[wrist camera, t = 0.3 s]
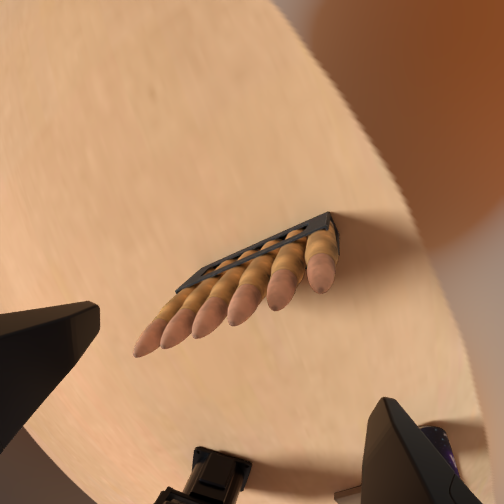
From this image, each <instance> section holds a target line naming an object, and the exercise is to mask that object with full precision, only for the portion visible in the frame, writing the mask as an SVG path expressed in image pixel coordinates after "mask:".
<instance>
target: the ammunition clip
mask: <svg viewBox="0 0 504 504" xmlns="http://www.w3.org/2000/svg"><path fill="white" fill-rule="evenodd" d="M338 255H339V233H338V230H337V228H336V226H335V223H334V221H333V219H332V217H331V214H330V212H325V213H323V214H321V215H319V216H316V217H314V218H312V219H310V220H307V221H305V222H303V223H301V224H298V225H296V226H294V227H292V228H289V229H287V230H285V231H283V232H281V233H278V234H276V235H274V236H272V237H269V238H267V239H265V240H263V241H260V242H258V243H256V244H254V245H251V246H249V247H247V248H245V249H243V250H240V251H238V252H236V253H234V254H231V255H229V256H227V257H225V258H223V259H220V260H218V261H216V262H214V263H211V264H209V265H207V266H205V267H203V268H201V269H200V270H199V271H197V272H196V273H195V274H194V275H193V276H192V277H190V278H189V279H188V280H187V281H186V282H185V283H184V284H182V285H181V286H180V287H179V288H178V289H177V290H176V291H175V292H176V294H177V295H176V296H174V297H173V298H172V299H171V300H170V301H169V302H168V303H167V304H166V305H165V306H164V307H163V308H162V309H161V311H160V313H159V314H158V316H157V317H156V318H155V319H154V320H153V321H152V323H151V324H150V325H149V326H148V327H147V328H146V329H145V330H144V331H143V333H142V334H141V335H140V337H139V338H138V340H137V342H136V344H135V347H134V351H133V356H134V357H142V356H145V355H147V354H149V353H151V352H153V351H154V350H156V349H157V348H158V347H159V346H161V348H162V349H168V348H171V347H173V346H175V345H177V344H179V343H180V342H182V341H183V340H184V339H185V338H187V337H188V336H189V335H190V334H191V333H192V336H193V338H195V339H198V338H202V337H205V336H206V335H208V334H210V333H211V332H212V331H214V330H215V329H216V328H217V327H218V326H219V325H220V324H221V323H222V322H223V320H224V319H225V318H226V317H227V319H228V322H229V325H230V326H237V325H240V324H242V323H243V322H245V321H246V320H247V319H248V318H249V317H250V316H251V315H252V314H253V313H254V312H255V310H256V308H257V307H258V305H259V304H260V303H261V301H262V299H263V298H264V297H265V296H267V301H268V305H269V307H270V308H271V310H273V311H279V310H281V309H283V308H284V307H285V306H286V305H287V304H288V303H289V302H290V301H291V299H292V297H293V295H294V293H295V291H296V288H297V286H298V284H299V283H300V282H301V280H302V278H303V276H304V272H305V269H307V277H308V281H309V284H310V286H311V287H312V289H313V290H314V291H315V292H316V293H319V294H323V293H325V292H327V291H328V290H329V288H330V287H331V285H332V283H333V281H334V278H335V269H336V264H337V262H338Z"/></svg>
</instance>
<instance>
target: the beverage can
mask: <svg viewBox="0 0 504 504" xmlns="http://www.w3.org/2000/svg"><path fill="white" fill-rule="evenodd" d="M419 429H420V430H421V431H422V432H423V433H424V435H425V436H426V437H427V438H428V440H429V441H430V442H431V443H432V444H433V446H434V447H435V448H436V449H437V451H438V452H439V453H440V454H441V455H442V457H443V458H444V459H445V460H446V462H447V463H448V464H449V465H450V467H451V468H452V469H453V470H454V472H455V473H454V474H457V475H458V476H459V473H458V469H457V466H456V463H455V459H454V456H453V453H452V450H451V446H450V443H449V440H448V437H447V434H446V432H445V431H444V430H443V429H441V428H439V427H432V426H421V427H419ZM459 478H460V476H459Z"/></svg>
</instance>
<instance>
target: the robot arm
mask: <svg viewBox="0 0 504 504" xmlns="http://www.w3.org/2000/svg"><path fill="white" fill-rule="evenodd" d="M99 330H100V308H99V306H98V305H97V304H95V303H93V302H90V301H84V302H78V303H71V304H65V305H59V306H52V307H46V308H39V309H32V310H26V311H19V312H12V313H5V314H0V454H1V453H2V452H3V450H4V449H5V447H6V446H7V445H8V444H9V443H10V441H11V440H12V439H13V438H14V436H15V435H16V434H17V433H18V431H19V430H20V429H21V428H22V427H23V425H24V424H25V423H26V422H27V421H28V419H29V418H30V417H31V416H32V415H33V413H34V412H35V411H36V410H37V409H38V407H39V406H40V405H41V404H42V403H43V402H44V400H45V399H46V398H47V397H48V396H49V395H50V393H51V392H52V391H53V390H54V389H55V388H56V387H57V385H58V384H59V383H60V382H61V381H62V380H63V379H64V377H65V376H66V375H67V374H68V373H69V372H70V371H71V369H72V368H73V367H74V366H75V365H76V363H77V362H78V361H79V359H80V358H81V356H82V355H83V354H84V352H85V351H86V349H87V348H88V347H89V345H90V344H91V342H92V341H93V340H94V338H95V337H96V336H97V334H98V332H99ZM251 467H252V463H250V462H248V461H244V460H240V459H237V458H233V457H230V456H226V455H223V454H219V453H216V452H213V451H210V450H206V449H203V448H200V447H196V448H195V450H194V455H193V465H192V473H191V475H190V477H189V479H188V482H187V484H186V486H185V488H184V490H183V492H180V491H177V490H174V489H173V488H171V487H169V486H168V487H167V489H166V490H165V491H161V493H160V495H159V497H158V498H157V500H156V501H155V503H154V504H236V501H237V498H238V495H239V492H242V491H243V490H244V487H245V485H246V482H247V479H248V476H249V473H250V470H251ZM454 473H455V472H454V470H453V469H452V468H451V467H450V465H449V464H448V463H447V462H446V460H445V459H444V458H443V457H442V455H441V454H440V453H439V452H438V451H437V449H436V448H435V447H434V446H433V444H432V443H431V442H430V441H429V440H428V438H427V437H426V436H425V435H424V433H423V432H422V431H421V430H420V429H419V427H418V426H417V425H416V424H415V423H414V421H413V420H412V419H411V418H410V416H409V415H408V414H407V413H406V412H405V410H404V409H403V408H402V407H401V406H400V404H399V403H398V402H397V401H396V400H395V399H393V398H388V397H382V398H381V399H380V400H379V402H378V403H377V405H376V407H375V408H374V410H373V411H372V413H371V415H370V417H369V419H368V424H367V433H366V441H365V448H364V455H363V463H362V485H361V504H482V503H481V502H480V500H479V499H478V498H477V497H476V496H475V495H474V494H473V493H472V492H471V491H470V490H469V488H468V487H467V486H466V485H465V484H464V483H463V481H462V480H461V479H460V478H459V476H458V475H457V474H454Z"/></svg>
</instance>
